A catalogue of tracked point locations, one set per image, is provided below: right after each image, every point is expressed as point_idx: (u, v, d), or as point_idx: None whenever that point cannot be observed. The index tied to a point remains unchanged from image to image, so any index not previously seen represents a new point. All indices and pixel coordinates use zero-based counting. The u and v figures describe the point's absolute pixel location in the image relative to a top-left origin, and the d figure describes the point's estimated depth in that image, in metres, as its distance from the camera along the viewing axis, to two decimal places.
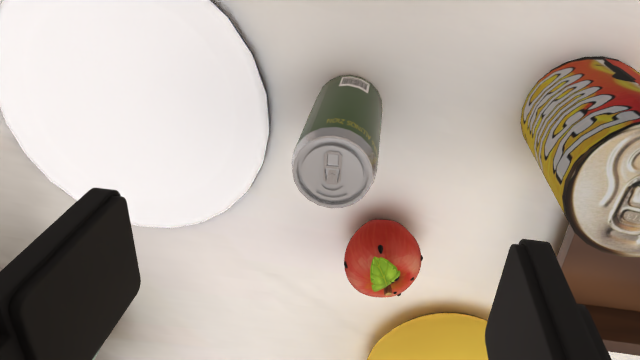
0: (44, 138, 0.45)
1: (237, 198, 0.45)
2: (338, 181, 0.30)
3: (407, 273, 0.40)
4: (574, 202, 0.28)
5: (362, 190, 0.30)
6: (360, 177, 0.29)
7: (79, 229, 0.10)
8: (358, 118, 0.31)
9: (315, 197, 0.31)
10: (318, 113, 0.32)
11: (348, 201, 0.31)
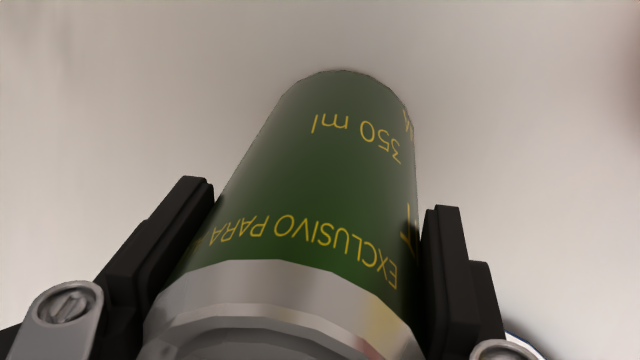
0: None
1: None
2: None
3: None
4: None
5: (341, 339, 0.07)
6: (267, 350, 0.07)
7: (181, 213, 0.11)
8: (198, 230, 0.11)
9: None
10: None
11: None
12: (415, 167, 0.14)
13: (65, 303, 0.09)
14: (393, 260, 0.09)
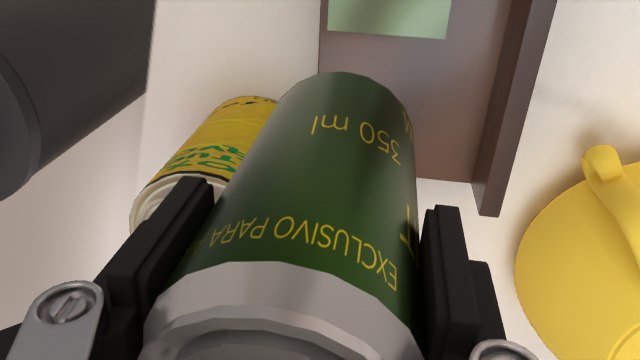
0: None
1: None
2: None
3: None
4: None
5: (341, 341, 0.07)
6: (268, 351, 0.07)
7: (182, 213, 0.11)
8: (198, 232, 0.11)
9: None
10: None
11: None
12: None
13: (65, 303, 0.09)
14: (392, 262, 0.09)
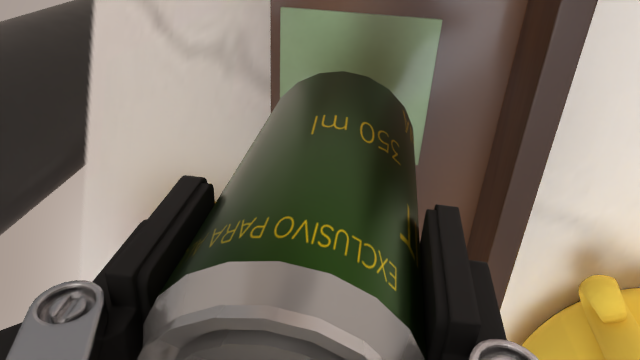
0: None
1: None
2: None
3: None
4: None
5: (341, 341, 0.07)
6: (267, 351, 0.07)
7: (181, 213, 0.11)
8: None
9: None
10: None
11: None
12: None
13: (65, 303, 0.09)
14: (392, 262, 0.09)
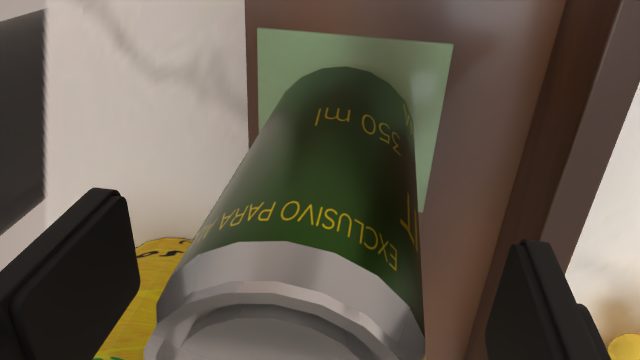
0: None
1: None
2: None
3: None
4: None
5: (345, 315, 0.08)
6: (275, 324, 0.08)
7: (79, 229, 0.10)
8: None
9: None
10: None
11: None
12: None
13: None
14: (393, 244, 0.09)
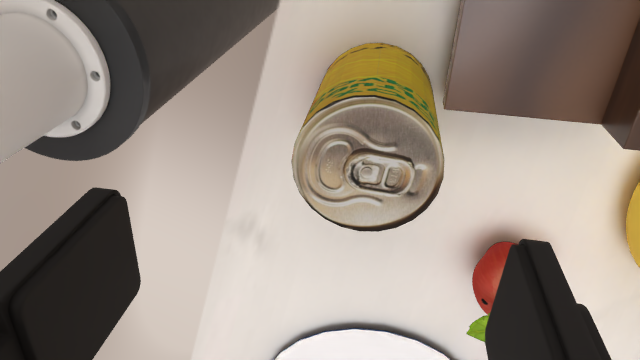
0: None
1: None
2: None
3: None
4: (378, 224, 0.31)
5: None
6: None
7: (79, 229, 0.10)
8: None
9: None
10: None
11: None
12: None
13: None
14: None
